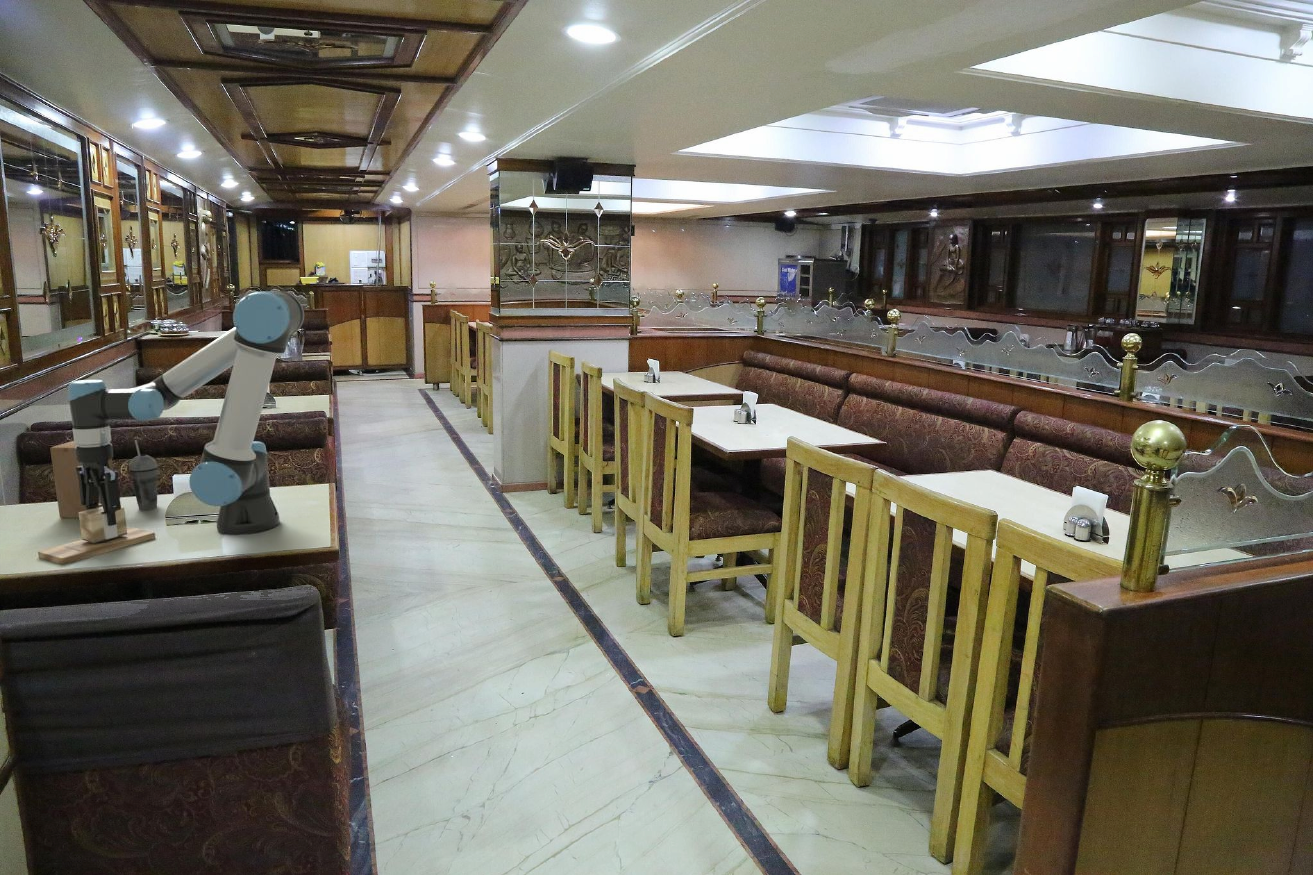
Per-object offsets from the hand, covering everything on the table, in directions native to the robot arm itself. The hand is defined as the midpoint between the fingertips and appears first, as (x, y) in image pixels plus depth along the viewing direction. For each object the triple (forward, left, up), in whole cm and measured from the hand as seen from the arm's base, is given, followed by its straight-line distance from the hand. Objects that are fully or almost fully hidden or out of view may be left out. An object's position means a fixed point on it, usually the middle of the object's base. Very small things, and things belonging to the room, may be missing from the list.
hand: (104, 535), depth 208 cm
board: (0, +2, -3) cm, 3 cm away
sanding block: (0, 0, 0) cm, 0 cm away
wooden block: (+32, -14, -3) cm, 35 cm away
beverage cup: (+23, -25, -3) cm, 34 cm away
